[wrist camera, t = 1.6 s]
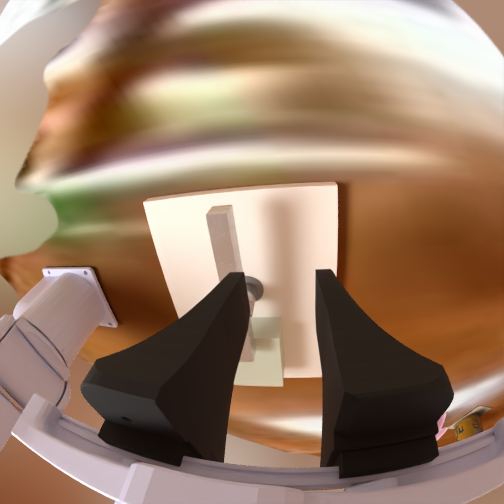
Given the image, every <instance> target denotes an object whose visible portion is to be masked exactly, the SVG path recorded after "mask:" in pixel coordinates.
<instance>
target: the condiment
mask: <svg viewBox="0 0 504 504" xmlns="http://www.w3.org/2000/svg"><path fill="white" fill-rule="evenodd" d="M490 409H491V408H489V407H484V406H478V407H476V408H475V409H474V410H472V411H471V412H470V413H468V414H467V415H466V416H464V417H462V418H461V419H459V420H458V421H457V422H455V423H453V424H452V425H451V426H449V427H448V428H447V429H454V430H455V435H456V440H457V442H458V441H461V440H463V439H466V438H469V437H471V436H474V435H476V434H479V433H481V432H484V431H483V427H482V424H481V421H480V416H481V415H483V414H484V413H485V412H487V411H488V410H490ZM473 412H474V413H473Z"/></svg>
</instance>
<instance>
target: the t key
mask: <svg viewBox="0 0 504 504" xmlns="http://www.w3.org/2000/svg"><path fill="white" fill-rule="evenodd" d="M206 220H207V225H208V230H209V235H210V240H211V245H212V249H213V254H214V259H215V264H216V268H217V273H218V277H219V282H220V281H221V280H222V279H223V278H224V277H225V276H226V275H227V274H229V273H230V272H243V269H242V263H241V256H240V250H239V244H238V238H237V232H236V225H235V219H234V213H233V206H232V205H220V206H212V207H211V209H210V210H209V211H208V212H207V214H206ZM246 286H247V292H248V299H249V305H250V318H249V326H248V332H247V336H246V339H245V343H244V347H243V350H242V354H241V357H240V361H239V362H254V358H255V352H256V346H255V340H254V334H253V329H252V323H251V317H252V314H253V310H254V305H255V300H256V295H257V289H256V287H255V286H254V285H253V284H250V283H246Z"/></svg>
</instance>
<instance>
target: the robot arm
mask: <svg viewBox="0 0 504 504" xmlns="http://www.w3.org/2000/svg"><path fill="white" fill-rule="evenodd" d="M42 271H43V274H44V276H45V277H44V278H43V279H42V280H41V281H40V282H39V283H37V284H36V285H35V286H34V287H33V288H32V289H31V290H30V291H29V292H28V293H27V294H26V295H25V296H24V297H23V298H22V299H21V300H20V301H19V302H18V304H17V305H16V307H15V309H14V312H13V315H10V316H9V315H4V316H3V317H2V318H0V386H1V387H2V388H3V389H4V390H5V391H6V392H7V393H8V394H9V395H10V396H11V397H12V398H13V399H14V400H15V401H16V402H17V403H18V404H19V405H20V406H21V407H23V408H24V410H21V409H19V408H18V407H16V406H15V405H14V404H13V403H12V402H11V401H10V400H9V399H8V398H7V397H6V396H5V395H4V394H3V393H2V392H1V391H0V452H1V450H2V449H3V447H4V445H5V444H6V442H7V440H8V439H9V437H10V436H11V435H14V436H15V437H17V438H18V439H19V440H20V441H21V442H22V443H24V444H25V445H26V446H27V447H29V448H30V449H31V450H33V451H34V452H36V453H37V454H38V455H39V456H41V457H42V458H44V459H45V460H46V461H48V462H49V463H51V464H52V465H53V466H55V467H56V468H58V469H60V470H61V471H63V472H64V473H66V474H67V475H69V476H71V477H72V478H74V479H75V480H77V481H79V482H81V483H82V484H84V485H86V486H88V487H90V488H91V489H93V490H95V491H97V492H99V493H101V494H103V495H105V496H107V497H109V498H111V499H113V500H115V503H114V504H466V503H468V502H470V501H472V500H474V499H477V498H479V497H480V496H483V495H485V494H486V493H488V492H490V491H492V490H494V489H496V488H497V487H499V486H501V485H502V484H504V417H502V418H501V419H500V420H499V421H498V422H497V423H496V424H495V425H494V427H493V428H491V429H488V430H486V431H484V432H481V433H479V434H476V435H474V436H471V437H469V438H466V439H463V440H461V441H458V442H455V443H452V444H449V445H446V446H443V447H439V448H438V446H437V440H436V436H435V435H437V434H438V432H439V429H438V425H437V421H438V420H439V419H440V417H441V416H442V415H443V414H444V412H445V411H446V410H447V409H448V407H449V406H450V404H451V402H452V400H453V397H454V392H453V389H452V386H451V383H450V381H449V378H448V376H447V374H446V372H445V370H444V368H443V366H442V365H440V364H438V363H436V362H434V361H432V360H430V359H428V358H426V357H424V356H421V355H420V354H418V353H416V352H415V351H413V350H411V349H410V348H408V347H406V346H405V345H403V344H402V343H400V342H399V341H397V340H396V339H395V338H393V337H392V336H391V335H389V334H388V333H387V332H385V331H384V330H383V329H382V328H380V327H379V326H378V325H377V324H376V323H375V322H374V321H373V320H372V319H371V318H370V317H369V316H368V315H367V314H366V313H365V312H364V311H363V310H362V309H361V308H360V307H359V306H358V305H357V303H356V302H355V301H354V300H353V299H352V297H351V296H350V295H349V294H348V292H347V291H346V290H345V288H344V287H343V286H342V284H341V283H340V281H339V280H338V278H337V277H336V275H335V274H334V272H333V271H332V270H331V269H315V320H316V334H317V341H318V348H319V355H320V363H321V370H322V382H323V418H322V446H321V462H320V467H319V468H274V467H258V466H246V465H236V464H228V463H224V454H225V443H226V435H227V426H228V418H229V411H230V404H231V398H232V391H233V385H234V380H235V376H236V372H237V368H238V364H239V361H240V357H241V354H242V350H243V347H244V343H245V339H246V336H247V332H248V326H249V318H250V305H249V299H248V292H247V286H246V280H245V274H244V272H230V273H229V274H227V275H226V276H225V277H224V278H223V279H222V280H221V281H220V282H219V283H218V285H217V286H216V287H215V288H214V289H212V290H211V291H210V292H209V293H208V294H207V295H206V296H205V297H204V298H203V299H202V300H201V301H200V302H199V303H197V304H196V305H195V306H194V307H193V308H192V309H191V310H189V311H188V312H187V313H186V314H185V315H183V316H182V317H181V318H179V319H178V320H177V321H175V322H174V323H172V324H171V325H169V326H168V327H166V328H165V329H163V330H161V331H160V332H158V333H156V334H155V335H153V336H151V337H150V338H148V339H146V340H144V341H142V342H140V343H138V344H136V345H134V346H132V347H129V348H127V349H125V350H122V351H120V352H117V353H114V354H111V355H109V356H106V357H103V358H100V359H97V360H96V361H95V363H94V365H93V366H92V368H91V369H90V371H89V373H88V375H87V376H86V378H85V379H84V381H83V382H82V384H81V392H82V394H83V396H84V398H85V399H86V400H87V401H88V403H89V404H90V405H91V406H92V407H93V408H94V409H95V410H96V411H97V412H98V413H99V414H100V415H101V416H102V417H103V418H104V419H105V421H104V423H103V425H102V427H101V429H100V430H98V429H96V428H94V427H91V426H89V425H87V424H84V423H82V422H80V421H77V420H75V419H73V418H71V417H69V416H67V415H65V414H63V411H64V410H65V408H66V407H67V405H68V403H69V400H70V397H71V383H70V382H69V380H68V378H69V377H70V375H71V372H70V370H69V369H68V367H69V366H70V365H71V363H72V362H73V360H74V359H75V357H76V356H77V354H78V353H79V351H80V350H81V349H82V347H83V346H84V344H85V343H86V341H87V340H88V339H89V337H90V336H91V335H92V333H93V332H94V330H95V329H96V328H97V326H98V325H101V326H108V327H117V326H118V323H117V321H116V319H115V317H114V315H113V313H112V311H111V308H110V306H109V304H108V302H107V300H106V298H105V296H104V294H103V291H102V289H101V287H100V285H99V282H98V280H97V278H96V275H95V273H94V271H93V269H92V268H91V267H54V268H44V269H43V270H42ZM341 488H345V489H344V492H324V493H323V492H319V493H318V492H304V490H328V489H341Z"/></svg>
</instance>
